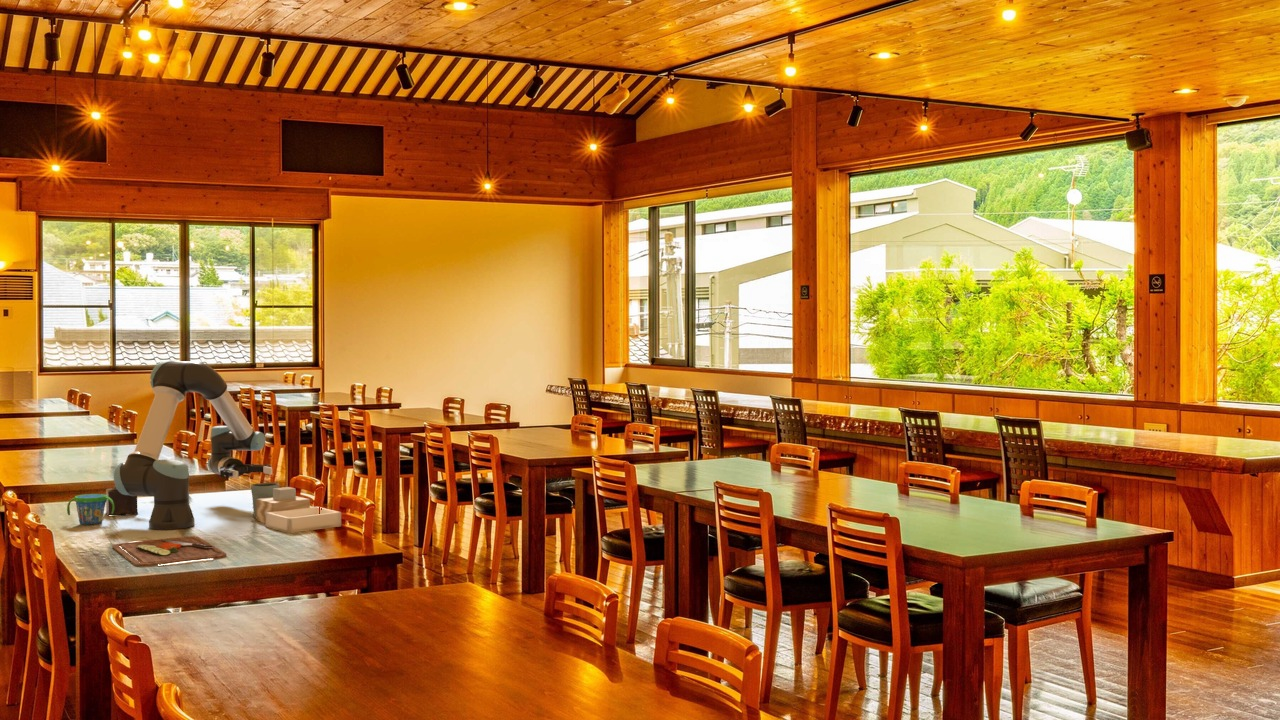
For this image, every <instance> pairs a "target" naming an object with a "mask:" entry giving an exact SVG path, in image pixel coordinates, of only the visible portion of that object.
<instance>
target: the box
mask: <svg viewBox="0 0 1280 720" xmlns="http://www.w3.org/2000/svg"><path fill="white" fill-rule="evenodd" d="M319 507H320V514H319ZM321 508H322V510H321ZM265 517H266V523H265V528H270V529H273V530H276V531H280V532H283V533H286V534H291V533H300V532H307V531H314V530H324V529H330V528H336V527H337V528H338V527H342V512H341V511H338V510H333V509H328V508H325V507H321V506H312V507H311V506H310V507H309V508H301V509H292V510H283V511H275V512H266V513H265Z"/></svg>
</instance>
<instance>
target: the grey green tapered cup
mask: <svg viewBox="0 0 1280 720" xmlns="http://www.w3.org/2000/svg"><path fill="white" fill-rule="evenodd" d="M273 488H280V484H279V483H277V482H260V483H254V484H251V485H250V489H251V490H250V492H251V496H252V506H253V507H252V508H253V517H254V518H256V517H257V504H256V499H261V498H271V497H273Z"/></svg>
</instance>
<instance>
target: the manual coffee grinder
mask: <svg viewBox="0 0 1280 720" xmlns="http://www.w3.org/2000/svg"><path fill="white" fill-rule="evenodd" d="M105 495H106V496H107V497H110V498H111V499H112V500H113V502H114V512H113V514H112V504H111V502H110V501H109V499H107V500H106V504H105V507H106V508H105V511H106V512H105V513H106V515H107V514H108V515H121V516H127V515H126V514H131V515H138V514H139V512H138V496H130V495H123V494H121V493H120V492H119V491H118V490H117V488H116V486H115V485H113V487H112V488H111V487H110V488H106V489H105ZM108 515H107V516H108Z"/></svg>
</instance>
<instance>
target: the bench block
mask: <svg viewBox="0 0 1280 720" xmlns="http://www.w3.org/2000/svg"><path fill="white" fill-rule="evenodd" d="M310 502H311V499H310V498H305V497H302V496H297V495H296V500H287V501H278V500H274V499H273V497H271V498H261V499H256V504H257V518H256V521H257V522H259V521H260V523H264V524H266V517H265V513H266V512H275V511H283V510H292V509H301V508H309V507H311V505H310Z"/></svg>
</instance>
